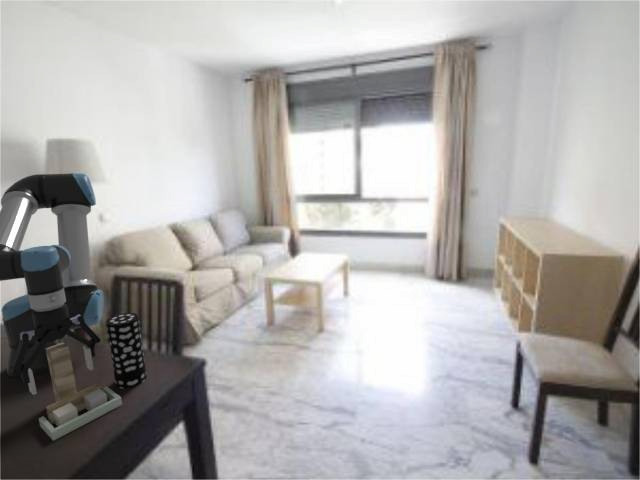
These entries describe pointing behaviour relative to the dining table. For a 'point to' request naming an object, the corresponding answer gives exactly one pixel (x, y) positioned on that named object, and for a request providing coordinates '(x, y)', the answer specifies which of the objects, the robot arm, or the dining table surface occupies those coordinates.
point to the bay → (82, 416)
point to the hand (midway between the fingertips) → (63, 380)
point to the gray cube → (95, 399)
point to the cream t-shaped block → (64, 380)
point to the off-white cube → (64, 414)
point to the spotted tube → (126, 350)
